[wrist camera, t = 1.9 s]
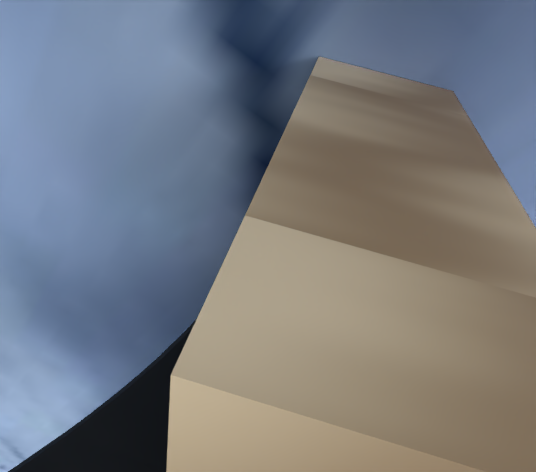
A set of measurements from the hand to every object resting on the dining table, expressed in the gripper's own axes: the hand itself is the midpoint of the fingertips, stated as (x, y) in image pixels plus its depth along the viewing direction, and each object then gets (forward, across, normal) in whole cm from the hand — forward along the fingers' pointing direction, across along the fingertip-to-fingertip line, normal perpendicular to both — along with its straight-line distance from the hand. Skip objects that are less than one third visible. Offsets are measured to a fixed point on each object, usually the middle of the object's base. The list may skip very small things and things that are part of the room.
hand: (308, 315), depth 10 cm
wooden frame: (+2, 0, 0) cm, 2 cm away
